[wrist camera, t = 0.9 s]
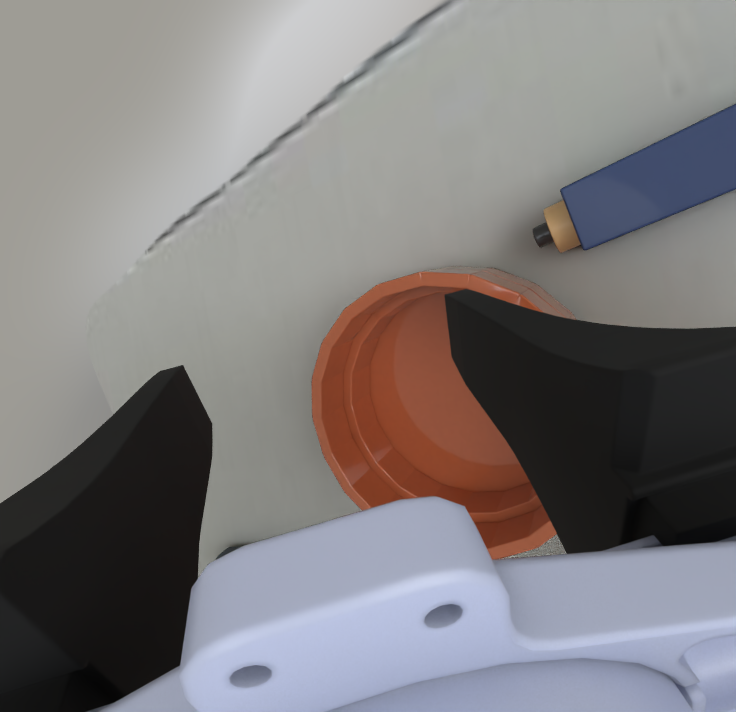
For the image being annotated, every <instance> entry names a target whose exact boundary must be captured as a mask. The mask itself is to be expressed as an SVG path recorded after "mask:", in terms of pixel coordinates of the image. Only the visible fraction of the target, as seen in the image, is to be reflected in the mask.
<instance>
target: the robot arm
mask: <svg viewBox="0 0 736 712" xmlns="http://www.w3.org/2000/svg"><path fill="white" fill-rule="evenodd" d="M444 297H445V305H446V314H447V322H448V331H449V339H450V348H451V356H452V359H453V361H454V363H455V365H456V367H457V369H458V371H459V373H460V375H461V377H462V379H463V381H464V382H465V384H466V386H467V387H468V389H469V390H470V391H471V393H472V394H473V396H474V397H475V398H476V400H477V401H478V403H479V404H480V405H481V407H482V408H483V410H484V411H485V412H486V414H487V415H488V416H489V418H490V419H491V421H492V422H493V423H494V425H495V426H496V427H497V429H498V430H499V432H500V433H501V434H502V436H503V437H504V438H505V440H506V441H507V443H508V445H509V446H510V448H511V449H512V451H513V452H514V454H515V456H516V458H517V459H518V461H519V463H520V465H521V466H522V468H523V470H524V472H525V474H526V475H527V477H528V479H529V481H530V483H531V485H532V486H533V488H534V490H535V492H536V494H537V496H538V498H539V500H540V501H541V503H542V505H543V507H544V509H545V511H546V513H547V515H548V517H549V519H550V521H551V523H552V525H553V527H554V529H555V531H556V533H557V535H558V537H559V539H560V541H561V543H562V545H563V547H564V549H565V551H566V553H567V554H559V555H547V556H534V557H521V558H508V559H496V560H492V558H491V556H490V554H489V552H488V550H487V548H486V546H485V544H484V542H483V540H482V537H481V535H480V533H479V531H478V529H477V527H476V525H475V523H474V522H473V520H472V518H471V517H470V515H469V513H468V511H467V510H466V508H465V506H462V505H460V504H457V503H454V502H451V501H448V500H446V499H443V498H440V497H437V496H428V497H419V498H409V499H400V500H396V501H393V502H390V503H386V504H383V505H379V506H376V507H373V508H369V509H366V510H363V511H359V512H356V513H352V514H349V515H346V516H342V517H339V518H335V519H332V520H329V521H325V522H322V523H319V524H315V525H312V526H308V527H305V528H302V529H298V530H295V531H291V532H288V533H285V534H281V535H278V536H275V537H271V538H268V539H264V540H261V541H258V542H254V543H251V544H247V545H244V546H242V547H240V548H238V549H236V550H234V551H232V552H230V553H228V554H226V555H224V556H222V557H220V558H218V559H217V560H215V561H213V562H211V563H209V564H208V565H207V566H206V568H205V569H204V570H203V572H202V573H201V575H200V576H199V578H198V558H199V540H200V531H201V524H202V518H203V512H204V506H205V499H206V493H207V487H208V481H209V474H210V468H211V461H212V422H211V420H210V418H209V416H208V414H207V412H206V410H205V408H204V406H203V404H202V402H201V400H200V398H199V396H198V394H197V392H196V390H195V388H194V386H193V384H192V382H191V380H190V378H189V376H188V374H187V372H186V370H185V369H184V367H183V365H181V366H178V367H174V368H170V369H166V370H163V371H160V372H158V373H157V374H156V375H154V376H153V377H152V378H151V379H150V380H149V381H147V382H146V383H145V384H144V385H143V386H142V387H141V388H140V389H139V390H138V391H137V392H136V393H135V394H134V395H133V396H132V397H131V398H130V399H129V400H128V401H127V402H126V403H125V404H124V405H123V406H122V407H121V408H120V409H119V410H118V411H117V412H116V413H115V414H114V415H113V416H112V417H111V418H109V419H108V420H107V421H106V422H105V423H104V424H103V425H102V426H101V427H100V428H98V429H97V430H96V431H95V432H94V433H93V434H92V435H91V436H90V437H89V438H88V439H86V440H85V441H84V442H83V443H82V444H81V445H80V446H78V447H77V448H76V449H75V450H74V451H73V452H71V453H70V454H69V455H68V456H67V457H65V458H64V459H63V460H61V461H60V462H59V463H57V464H56V465H55V466H53V467H52V468H51V469H50V470H49V471H47V472H46V473H44V474H43V475H42V476H40V477H39V478H37V479H36V480H35V481H33V482H32V483H30V484H29V485H27V486H26V487H24V488H23V489H21V490H20V491H18V492H17V493H15V494H14V495H12V496H11V497H9V498H8V499H6V500H5V501H3V502H2V503H0V712H736V327H720V328H697V329H670V328H641V327H628V326H617V325H607V324H599V323H592V322H586V321H580V320H574V319H569V318H564V317H559V316H555V315H551V314H547V313H543V312H539V311H536V310H532V309H529V308H525V307H522V306H519V305H516V304H513V303H509V302H506V301H503V300H500V299H497V298H495V297H492V296H489V295H486V294H483V293H479V292H476V291H473V290H468V289H464V290H460V291H456V292H453V293H449V294H445V295H444Z"/></svg>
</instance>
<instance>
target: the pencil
mask: <svg viewBox="0 0 736 712" xmlns="http://www.w3.org/2000/svg"><path fill="white" fill-rule="evenodd" d="M735 189H736V104H734V105H732V106H730V107H728V108H726V109H724V110H722V111H720V112H718V113H716V114H714V115H712V116H710V117H708V118H705V119H703V120H701V121H699V122H697V123H695V124H693V125H691V126H689V127H687V128H685V129H683V130H681V131H679V132H677V133H675V134H673V135H670V136H668V137H666V138H664V139H662V140H660V141H658V142H656V143H654V144H652V145H650V146H648V147H646V148H644V149H642V150H640V151H638V152H635V153H633V154H631V155H629V156H627V157H625V158H623V159H621V160H619V161H617V162H615V163H613V164H611V165H609V166H607V167H605V168H603V169H600V170H598V171H596V172H594V173H592V174H590V175H588V176H586V177H584V178H582V179H580V180H578V181H576V182H574V183H572V184H570V185H567V186H565V187H563V188H562V189H561V190H560V192H561V195H562V197H563V200H562V201H560V202H558V203H556V204H554V205H552V206H550V207H547V208H545V209H544V216H545V219H546V223H544V224H542V225H539V226H537V227H535V228H533V235H534V238H535V240H536V243H537V245H538V246H539V247H543V246H546V245H548V244H550V243H553V242H555V245H556V247H557V248H558V250H559V252H560V253H562V252H564V251H567V250H569V249H572V248H574V247H576V246H579V245H581V246H582V249H583V250H588V249H591V248H593V247H596V246H598V245H600V244H603V243H605V242H608V241H610V240H613V239H615V238H618V237H620V236H623V235H625V234H627V233H630V232H632V231H635V230H637V229H640V228H642V227H645V226H647V225H649V224H652V223H654V222H657V221H659V220H662V219H664V218H667V217H669V216H672V215H674V214H676V213H679V212H681V211H684V210H686V209H689V208H691V207H694V206H696V205H698V204H701V203H703V202H706V201H708V200H711V199H713V198H716V197H718V196H721V195H723V194H725V193H728V192H730V191H733V190H735Z"/></svg>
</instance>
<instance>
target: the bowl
mask: <svg viewBox="0 0 736 712" xmlns="http://www.w3.org/2000/svg"><path fill="white" fill-rule="evenodd" d="M464 289H468V290H473V291H476V292H479V293H483V294H486V295H489V296H492V297H495V298H497V299H500V300H503V301H506V302H509V303H513V304H516V305H519V306H522V307H525V308H529V309H532V310H536V311H539V312H543V313H547V314H551V315H555V316H559V317H564V318H569V319H574V320H577V319H576V318H575V316H574V315H573V314H572V312H571V311H569V310H568V309H567V308H566V307H564V306H563V305H562V304H561V303H559V302H558V301H557V300H556V299H554V298H553V297H552V296H551V295H550V294H548V293H547V292H546V291H545V290H543V289H542V288H541V287H540V286H538V285H537V284H535V283H533V282H530V281H528V280H525V279H522V278H520V277H517V276H514V275H512V274H509V273H506V272H504V271H501V270H499V269H496V268H484V267H460V266H452V267H445V268H439V269H433V270H428V271H422V272H418V273H414V274H411V275H407V276H404V277H401V278H397V279H394V280H391V281H387V282H384V283H381V284H378V285H376V286H375V287H373V288H372V289H371V290H369V291H368V292H367V293H365V294H364V295H363V296H361V297H360V298H359V299H357V300H356V301H354V302H353V303H352V304H350V305H349V306H348V307H346V308H345V310H343V312H342V313H341V315H340V316H339V318H338V319H337V321H336V322H335V324H334V325H333V327H332V328H331V330H330V331H329V332H328V334H327V335H326V337H325V338H324V340H323V342H322V344H321V347H320V351H319V354H318V358H317V362H316V365H315V369H314V372H313V376H312V418H313V422H314V425H315V429H316V432H317V436H318V439H319V442H320V446H321V449H322V453H323V456H324V458H325V460H326V462H327V463H328V465H329V467H330V468H331V470H332V472H333V473H334V475H335V477H336V479H337V480H338V482H339V484H340V485H341V487H342V489H343V491H345V493H346V494H347V495H348V496H349V497H350V498H351V499H352V500H353V501H354V503H355V504H356V505H357V506H358V507H359V508H360V509H361V510H362V511H363V510H366V509H369V508H373V507H376V506H379V505H383V504H386V503H390V502H393V501H396V500H400V499H409V498H419V497H428V496H437V497H440V498H443V499H446V500H448V501H451V502H454V503H457V504H460V505H462V506H465V508H466V510H467V511H468V513H469V515H470V517H471V518H472V520H473V522H474V523H475V525H476V527H477V529H478V531H479V533H480V535H481V537H482V540H483V542H484V544H485V546H486V548H487V550H488V552H489V554H490V556H491V558H492V560H494V559H495V560H496V559H501V558H504V557H508V556H511V555H515V554H518V553H522V552H525V551H529V550H533V549H536V548H537V547H540V546H541V545H542V544H544V543H545V542H546V541H548V540H549V539H550V538H552V537H553V536H555V535H556V534H557V533H556V531H555V529H554V527H553V525H552V523H551V521H550V519H549V517H548V515H547V513H546V511H545V509H544V507H543V505H542V503H541V501H540V500H539V498H538V496H537V494H536V492H535V490H534V488H533V486H532V485H531V483H530V481H529V479H528V477H527V475H526V474H525V472H524V470H523V468H522V466H521V465H520V463H519V461H518V459H517V458H516V456H515V454H514V452H513V451H512V449H511V448H510V446H509V445H508V443H507V441H506V440H505V438H504V437H503V436H502V434H501V433H500V432H499V430H498V429H497V427H496V426H495V425H494V423H493V422H492V421H491V419H490V418H489V416H488V415H487V414H486V412H485V411H484V410H483V408H482V407H481V405H480V404H479V403H478V401H477V400H476V398H475V397H474V396H473V394H472V393H471V391H470V390H469V389H468V387H467V386H466V384H465V382H464V381H463V379H462V377H461V375H460V373H459V371H458V369H457V367H456V365H455V363H454V361H453V359H452V356H451V348H450V339H449V331H448V322H447V314H446V305H445V297H444V295H445V294H449V293H453V292H456V291H460V290H464Z"/></svg>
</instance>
